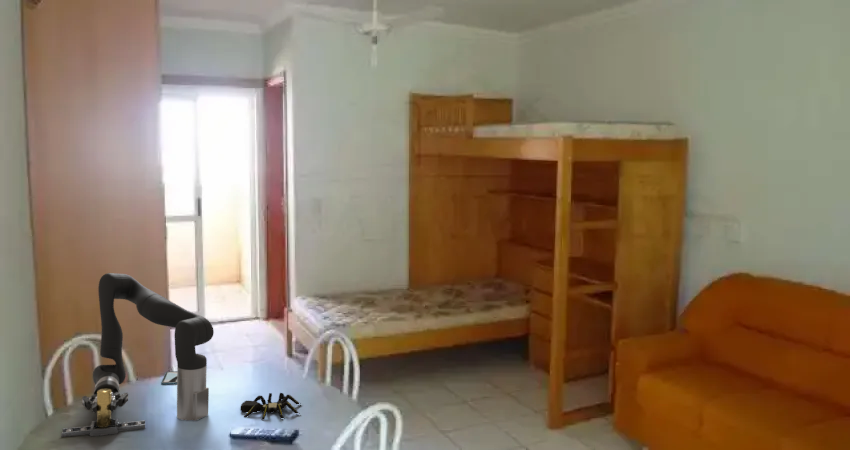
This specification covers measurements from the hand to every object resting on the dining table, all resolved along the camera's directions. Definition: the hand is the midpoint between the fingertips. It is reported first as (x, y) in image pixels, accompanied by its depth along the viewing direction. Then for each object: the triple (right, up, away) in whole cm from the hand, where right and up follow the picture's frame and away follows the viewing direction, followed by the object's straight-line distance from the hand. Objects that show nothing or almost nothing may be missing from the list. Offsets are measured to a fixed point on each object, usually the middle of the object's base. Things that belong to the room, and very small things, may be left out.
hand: (103, 409), depth 206 cm
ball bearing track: (-1, -7, +3) cm, 8 cm away
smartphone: (+1, -3, +54) cm, 54 cm away
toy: (+46, -8, +26) cm, 54 cm away
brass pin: (-1, -6, +3) cm, 7 cm away
